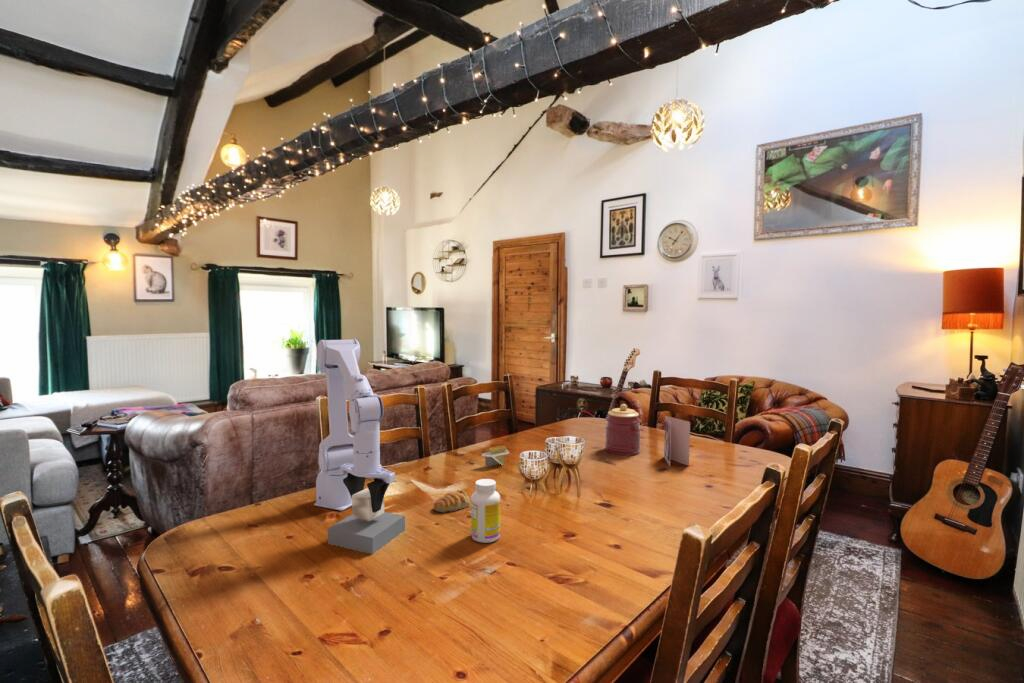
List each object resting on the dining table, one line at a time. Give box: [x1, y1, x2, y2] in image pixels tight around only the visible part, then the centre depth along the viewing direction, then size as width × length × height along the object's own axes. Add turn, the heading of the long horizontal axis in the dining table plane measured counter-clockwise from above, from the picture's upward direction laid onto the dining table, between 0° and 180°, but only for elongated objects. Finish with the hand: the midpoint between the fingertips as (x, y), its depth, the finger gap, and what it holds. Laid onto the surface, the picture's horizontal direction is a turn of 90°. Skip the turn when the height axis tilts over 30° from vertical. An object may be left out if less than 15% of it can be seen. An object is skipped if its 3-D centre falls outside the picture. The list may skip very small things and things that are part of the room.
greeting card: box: [663, 415, 691, 467], centre depth 165 cm, size 11×7×15 cm, turn 172°
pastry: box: [433, 489, 471, 513], centre depth 127 cm, size 9×7×4 cm
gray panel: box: [327, 511, 406, 555], centre depth 109 cm, size 12×12×4 cm
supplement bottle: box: [470, 478, 501, 544], centre depth 109 cm, size 7×7×13 cm
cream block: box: [351, 487, 385, 521], centre depth 109 cm, size 5×5×5 cm
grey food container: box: [481, 445, 510, 468], centre depth 161 cm, size 12×18×7 cm, turn 127°
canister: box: [604, 403, 642, 456], centre depth 179 cm, size 13×13×18 cm
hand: (367, 508), depth 109 cm, fingers closed on cream block, 5 cm apart
